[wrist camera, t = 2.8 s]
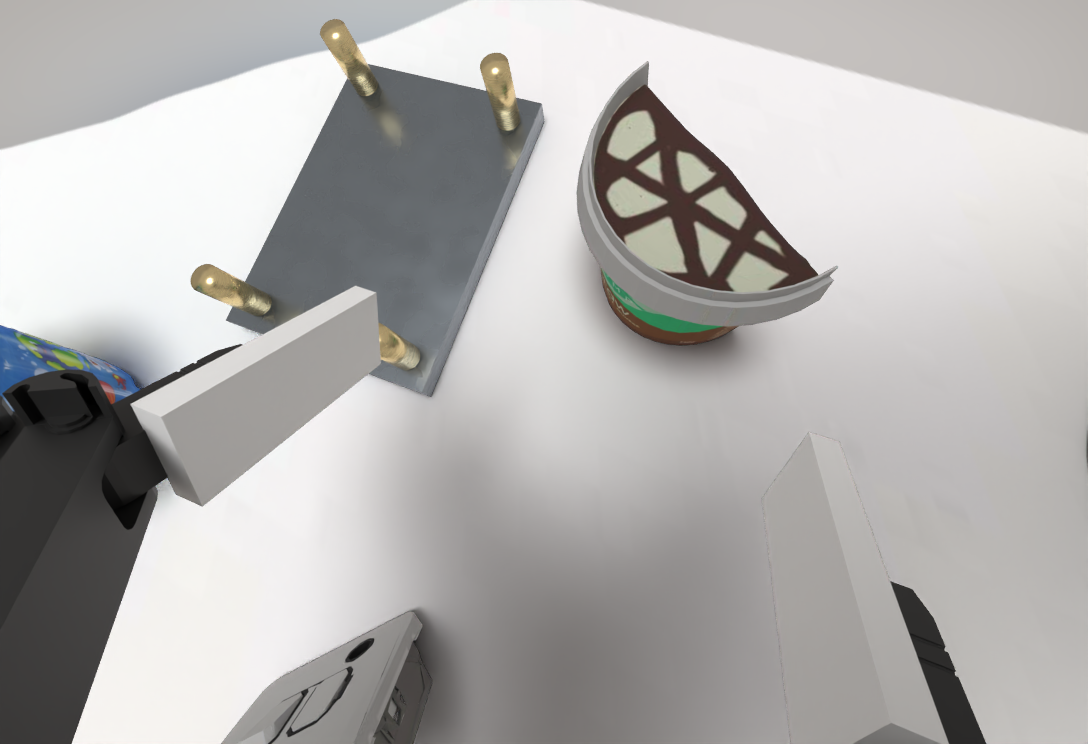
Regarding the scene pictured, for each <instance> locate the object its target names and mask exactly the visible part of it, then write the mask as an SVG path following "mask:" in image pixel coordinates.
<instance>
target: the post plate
mask: <svg viewBox="0 0 1088 744" xmlns="http://www.w3.org/2000/svg"><path fill="white" fill-rule="evenodd" d="M320 35H321V37H322V39H323V40H324V42H325V43H326V45H327V46H328V48H329V50H330V51H331V53H332V54H333V56H334V58H335V59H336V61H337V62H338V64H339V65H340V67H341V68H342V70H343V72H344V73H345V75H346V76H347V80H346V82H345V84H344V86H343V88H342V90H341V92H340V94H339V96H338V98H337V100H336V102H335V104H334V106H333V108H332V110H331V112H330V114H329V116H328V118H327V120H326V122H325V124H324V126H323V128H322V130H321V132H320V134H319V136H318V138H317V140H316V142H315V144H314V146H313V148H312V150H311V152H310V154H309V156H308V158H307V160H306V162H305V164H304V166H303V168H302V170H301V172H300V174H299V176H298V178H297V180H296V182H295V184H294V186H293V188H292V190H291V192H290V194H289V196H288V198H287V200H286V202H285V204H284V206H283V208H282V210H281V212H280V214H279V216H278V218H277V220H276V222H275V224H274V226H273V228H272V230H271V231H270V233H269V235H268V237H267V239H266V241H265V243H264V245H263V247H262V249H261V251H260V253H259V255H258V257H257V259H256V261H255V263H254V265H253V267H252V269H251V271H250V273H249V275H248V277H247V279H246V281H245V282H244V281H242V280H240V279H238V278H236V277H234V276H232V275H230V274H228V273H226V272H224V271H222V270H220V269H219V268H217V267H215V266H213V265H210V264H205V265H201V266H200V267H198V268H197V269H196V270H195V271H194V272H193V274H192V277H191V285H192V287H193V289H194V290H196V291H198V292H200V293H203V294H205V295H207V296H210V297H212V298H214V299H217V300H219V301H221V302H224V303H226V304H228V305H231V306H233V307H232V309H231V311H230V313H229V315H228V317H227V319H226V321H228V322H231V323H234V324H236V325H239V326H242V327H244V328H247V329H250V330H252V331H255V332H258V333H260V334H265V333H267V332H268V331H270V330H272V329H274V328H276V327H278V326H280V325H282V324H284V323H286V322H288V321H289V320H291V319H293V318H295V317H297V316H299V315H301V314H303V313H305V312H307V311H308V310H310V309H312V308H314V307H316V306H318V305H320V304H322V303H324V302H326V301H327V300H329V299H331V298H333V297H335V296H337V295H339V294H341V293H343V292H345V291H346V290H348V289H350V288H352V287H354V286H358V287H361V288H364V289H367V290H370V291H373V292H376V295H377V310H378V326H379V341H380V357H381V364H380V365H379V366H377V367H376V368H375V369H374V370H372V371H371V372H370V373H369V374H371V375H373V376H376V377H379V378H381V379H384V380H387V381H390V382H392V383H395V384H398V385H400V386H403V387H406V388H408V389H411V390H414V391H416V392H419V393H422V394H425V395H427V396H430V397H431V396H432V393H433V391H434V388H435V386H436V383H437V381H438V379H439V376H440V374H441V371H442V369H443V366H444V364H445V362H446V359H447V357H448V354H449V352H450V349H451V347H452V344H453V342H454V340H455V337H456V335H457V332H458V330H459V327H460V325H461V323H462V320H463V318H464V315H465V313H466V310H467V308H468V306H469V303H470V301H471V298H472V296H473V293H474V291H475V289H476V286H477V284H478V281H479V279H480V276H481V274H482V272H483V269H484V267H485V264H486V262H487V259H488V257H489V255H490V252H491V250H492V247H493V245H494V242H495V240H496V238H497V235H498V233H499V230H500V228H501V225H502V223H503V221H504V218H505V216H506V213H507V211H508V208H509V206H510V204H511V201H512V199H513V196H514V194H515V191H516V189H517V187H518V184H519V182H520V179H521V177H522V174H523V172H524V170H525V167H526V165H527V162H528V160H529V157H530V155H531V153H532V150H533V148H534V145H535V143H536V140H537V138H538V136H539V133H540V131H541V128H542V126H543V123H544V116H543V109H542V104H541V103H537V102H532V101H528V100H524V99H519V98H516V95H515V91H514V86H513V81H512V77H511V72H510V67H509V63H508V59H507V58H506V56H504V55H503V54H501V53H492V54H489V55H487V56H486V57H485V58H484V59H483V60H482V61H481V64H480V69H481V73H482V76H483V80H484V83H485V87H486V90H487V91H484V90H480V89H475V88H471V87H466V86H462V85H458V84H453V83H449V82H444V81H440V80H436V79H431V78H427V77H422V76H418V75H414V74H409V73H405V72H400V71H396V70H392V69H387V68H383V67H378V66H374V65H370V64H367V62H366V61H365V59H364V57H363V55H362V54H361V52H360V50H359V48H358V47H357V45H356V43H355V41H354V40H353V38H352V36H351V34H350V33H349V31H348V29H347V27H346V26H345V24H344V22H342V21H341V20H338V19H333V20H330V21H328V22H326V23H325V24H324V25H323V26H322V28H321V31H320Z"/></svg>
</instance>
